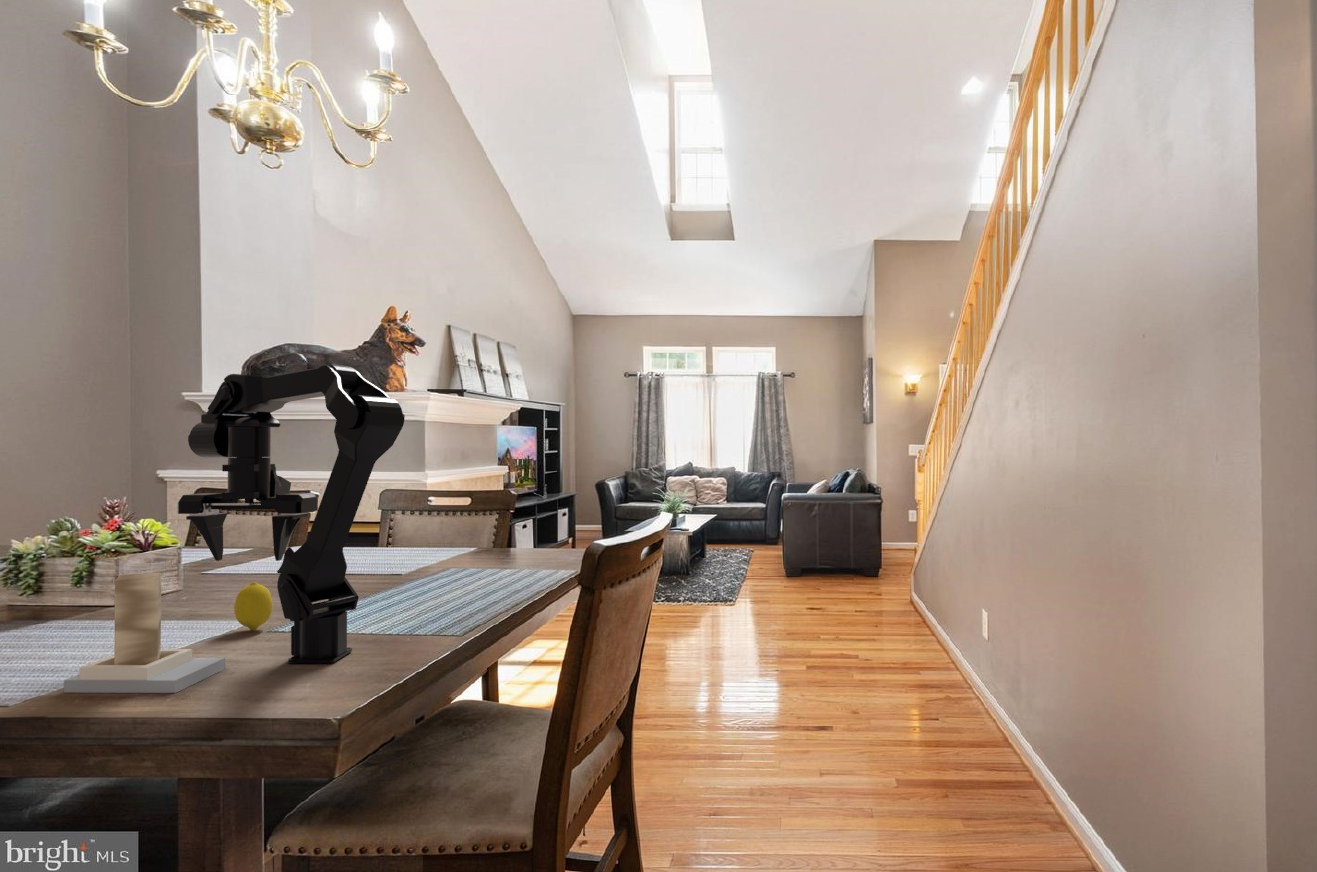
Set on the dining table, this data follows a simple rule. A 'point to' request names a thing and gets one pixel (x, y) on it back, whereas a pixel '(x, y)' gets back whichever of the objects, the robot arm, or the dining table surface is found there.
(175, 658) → the foundation plate
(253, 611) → the lemon
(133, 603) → the beech pillar
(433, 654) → the dining table surface
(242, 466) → the robot arm
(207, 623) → the dining table surface
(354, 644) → the dining table surface
